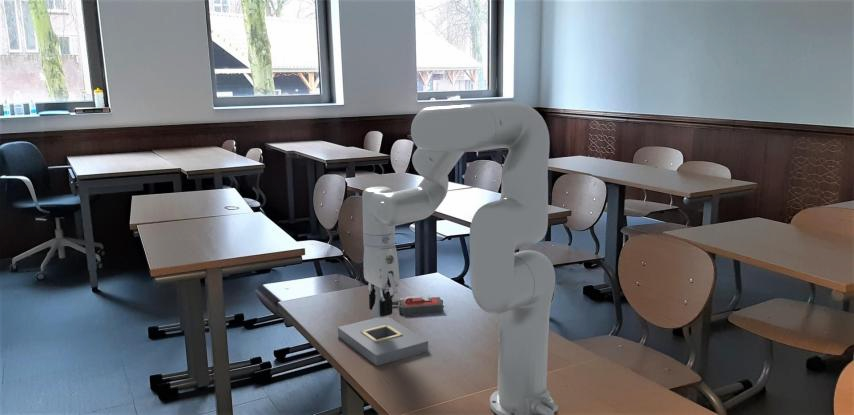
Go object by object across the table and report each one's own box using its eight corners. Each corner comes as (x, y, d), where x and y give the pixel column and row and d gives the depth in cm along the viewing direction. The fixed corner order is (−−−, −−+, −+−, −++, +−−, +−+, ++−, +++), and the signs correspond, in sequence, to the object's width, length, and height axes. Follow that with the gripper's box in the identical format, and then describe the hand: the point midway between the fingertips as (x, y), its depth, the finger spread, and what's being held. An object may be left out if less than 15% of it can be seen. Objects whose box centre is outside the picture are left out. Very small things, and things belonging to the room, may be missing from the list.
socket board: (428, 350, 152) (427, 339, 151) (376, 365, 144) (376, 354, 144) (386, 324, 168) (385, 314, 168) (338, 336, 161) (337, 326, 160)
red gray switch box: (441, 302, 185) (372, 307, 181) (441, 288, 184) (372, 292, 180) (447, 313, 176) (375, 319, 173) (447, 298, 175) (374, 303, 172)
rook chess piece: (387, 318, 152) (386, 287, 151) (369, 317, 153) (368, 285, 151) (392, 312, 156) (391, 281, 155) (374, 310, 157) (374, 279, 156)
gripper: (411, 244, 146) (412, 319, 150) (375, 229, 160) (377, 298, 164) (383, 249, 142) (384, 326, 146) (348, 234, 156) (351, 304, 159)
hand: (380, 311), depth 155 cm, fingers closed on rook chess piece, 4 cm apart
